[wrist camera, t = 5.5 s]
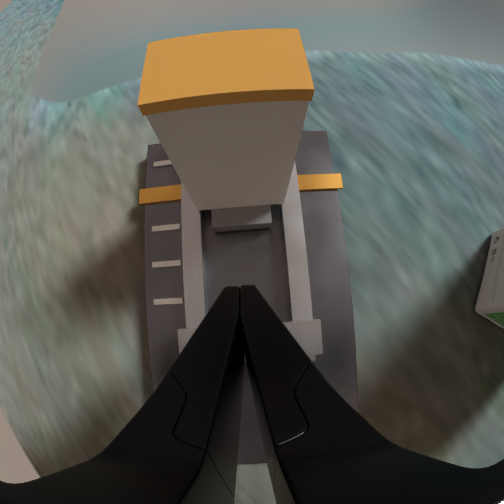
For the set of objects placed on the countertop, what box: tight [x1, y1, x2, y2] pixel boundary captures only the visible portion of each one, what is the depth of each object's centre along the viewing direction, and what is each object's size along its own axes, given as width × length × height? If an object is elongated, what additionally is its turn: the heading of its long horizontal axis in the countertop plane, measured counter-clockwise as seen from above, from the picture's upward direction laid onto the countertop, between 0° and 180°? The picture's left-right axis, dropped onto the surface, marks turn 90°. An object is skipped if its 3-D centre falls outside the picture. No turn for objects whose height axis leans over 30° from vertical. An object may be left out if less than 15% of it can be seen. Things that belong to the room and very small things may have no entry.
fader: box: [138, 29, 314, 232], centre depth 12 cm, size 4×4×10 cm
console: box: [139, 131, 358, 464], centre depth 16 cm, size 19×12×4 cm, turn 4°
